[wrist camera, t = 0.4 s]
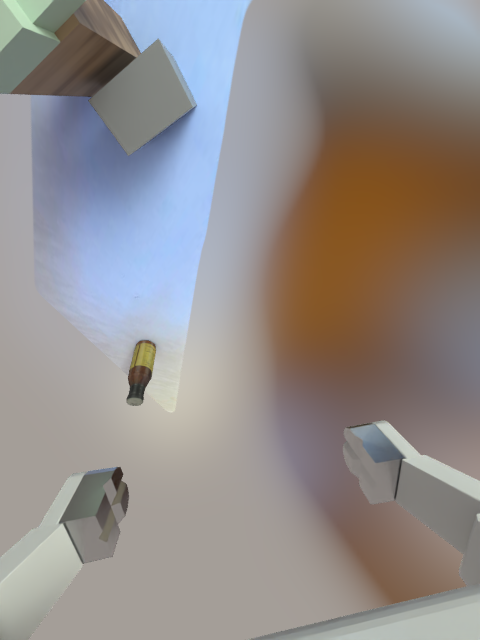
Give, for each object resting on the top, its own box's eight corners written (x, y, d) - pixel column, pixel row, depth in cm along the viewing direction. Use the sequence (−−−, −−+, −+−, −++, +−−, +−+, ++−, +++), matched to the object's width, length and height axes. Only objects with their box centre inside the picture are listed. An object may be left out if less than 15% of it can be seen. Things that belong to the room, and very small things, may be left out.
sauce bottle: (142, 354, 80) (128, 411, 65) (132, 341, 76) (114, 399, 61) (161, 349, 79) (150, 405, 64) (151, 336, 75) (137, 394, 60)
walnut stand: (79, 56, 36) (-70, 4, 16) (120, 17, 34) (5, -94, 14) (107, 97, 39) (9, 93, 20) (146, 63, 37) (79, 23, 18)
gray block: (124, 100, 39) (88, 100, 27) (174, 58, 37) (158, 38, 25) (150, 140, 43) (128, 155, 31) (197, 105, 40) (192, 107, 29)
